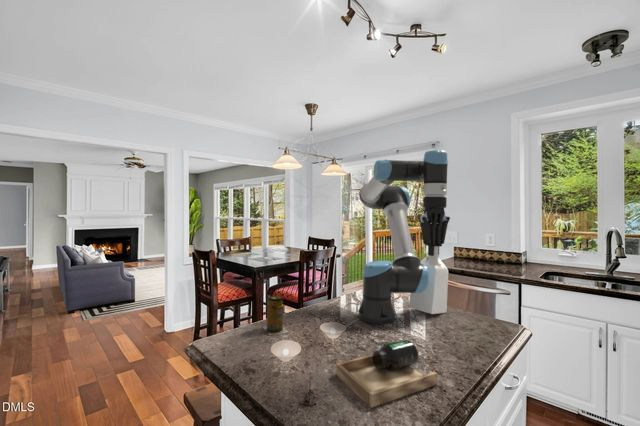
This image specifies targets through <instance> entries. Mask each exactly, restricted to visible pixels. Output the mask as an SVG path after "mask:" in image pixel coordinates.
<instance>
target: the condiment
mask: <svg viewBox="0 0 640 426" xmlns="http://www.w3.org/2000/svg"><path fill="white" fill-rule="evenodd" d="M283 303H284V301H283V297H282V296H280V295H271V296H269V297H268V303H267V305H266V308H267V309H266V326H262V328H263V329H264V331H265V333H267V334H268V335H269V336H274V335H282V334H286V333H287V334H288V333H289V331H288V330H287V329H286V328H285V327H284V310H285V309H284V304H283Z"/></svg>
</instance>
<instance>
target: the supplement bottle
mask: <svg viewBox="0 0 640 426" xmlns="http://www.w3.org/2000/svg"><path fill="white" fill-rule="evenodd" d="M372 354H373V355H372ZM372 354H371V355H372V359H373V364H374V366H375V367H376V368H377V369H378V370H385V369H386V370H388V371H395V370H399V369H402V368H406V367H409V366H410V367H412V366H415V365H416V364H417V363H418V361H419V351H418V348H417V347H416V345H415V344H414V343H413V341H411V340H409V339H406V340H401V341H396V342H392V343H389V344H384V345H383V346H381V348H380V349H378V350H375V351H373V353H372Z"/></svg>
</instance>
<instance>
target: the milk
mask: <svg viewBox="0 0 640 426" xmlns="http://www.w3.org/2000/svg"><path fill="white" fill-rule="evenodd" d="M420 262H421V264H424V265H426V266H427V268H428V272H429V280H428V285H427V288H426V289H425V291H423V292H419V293H409V294H410V295H409V301H408V306H407V307H408V308H410V309H413V310H417V311H421V312H424V313H427V314H431V315H436V314H437V315H438V314H444V313H445V314H446V313H447V311H448V310H447V309H448V308H447V306H448V292H449V291H448V288H449V268H448V267H447V266H446V265H445V263H443V261H442V260H441V259H440V254H439V255H438V266H433V265H429V255H428V252H427V253H426V256H425V257H424V258H423V259H422V260H421V259H420Z"/></svg>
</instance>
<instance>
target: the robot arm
mask: <svg viewBox="0 0 640 426" xmlns="http://www.w3.org/2000/svg"><path fill="white" fill-rule="evenodd" d="M448 164H449V161H448V153H447V151H446V150H441V149H439V150H436V149H435V150H428V151H425V153H424V155H423V160H396V159H395V160H393V159H380V160H379V159H378V160H376V161H375V162H374V166H373V170H372V171H373V176H372V177H371V179H369V181H368V182H367V183H365V184H364V185H362V186H361V188H360V189H359V192H358V197H359V200H360V202H361V203H362V204H363V205H364V206H365V207H367V208H369V209H372V210H382V213H383V215H385V216H386V218H387V221H388V222H387V223H388V227H389V233H390V237H391V243H392V248H393V253H394V258H395V259H394V260H393V262H392V261H391V260H384V259H383V260H373V261H369V262H367V263H365V264H364V265H363V271H362V300H361V301H360V302H361V303H360V306H359V308H358V312H357V315H358V319H359V320H360V321H362V322H364V323H368V324H373V325H387V324H392V323H394V322H395V320H396V312H395V308H394V306H393V302H392V294H411V293H419V292H423V291H425V289H426V288H427V285H428V280H429V272H428V268H427V266H426V265H424V264H421V262H420V261H421V259H420V257H418V256H416V253H415V249H414V244H413V241H412V236H411V231H410V227H409V222H408V219H407V211H408V209H409V208H410V206H411V195H410V192H409V190H408V189H407V188H406V186H401V185H392V184H393V183H394V182H416V183H423V196H424V197H423V198H422V199H423V201H422V207H423V208H424V212H423V214H422V216H418V217H417V219H418V222H419V223H420V229H421V231H420V232H421V235H422V241H423V242H422V243H423V244H424V245H425V246H427V247H428V248H427V253H428V255H429V265H433V266H438V255H439V256H440V247H443V245H444V244H445V239H446V234H447V230H448V226H449V222H450V220H451V217H450V216H447V215H446V212H445V209H446V208H447V197H446V196H447V193H448V192H447V191H448V190H447V187H448V185H447V184H448Z"/></svg>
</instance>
